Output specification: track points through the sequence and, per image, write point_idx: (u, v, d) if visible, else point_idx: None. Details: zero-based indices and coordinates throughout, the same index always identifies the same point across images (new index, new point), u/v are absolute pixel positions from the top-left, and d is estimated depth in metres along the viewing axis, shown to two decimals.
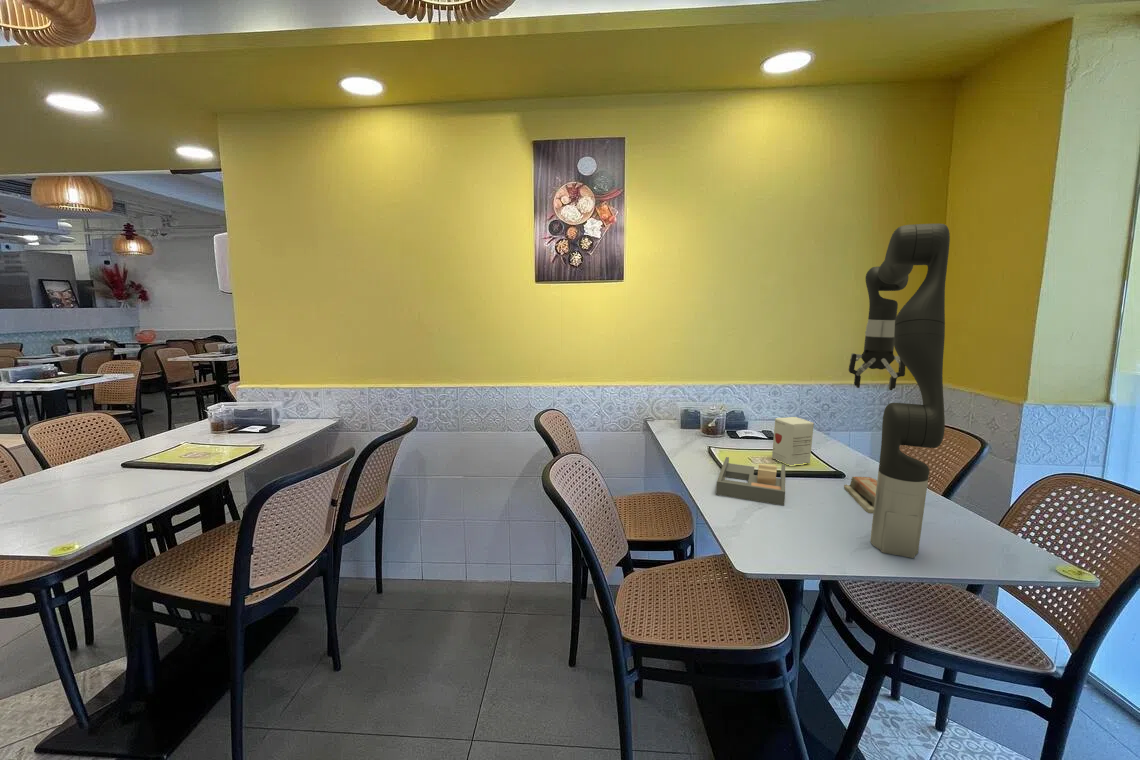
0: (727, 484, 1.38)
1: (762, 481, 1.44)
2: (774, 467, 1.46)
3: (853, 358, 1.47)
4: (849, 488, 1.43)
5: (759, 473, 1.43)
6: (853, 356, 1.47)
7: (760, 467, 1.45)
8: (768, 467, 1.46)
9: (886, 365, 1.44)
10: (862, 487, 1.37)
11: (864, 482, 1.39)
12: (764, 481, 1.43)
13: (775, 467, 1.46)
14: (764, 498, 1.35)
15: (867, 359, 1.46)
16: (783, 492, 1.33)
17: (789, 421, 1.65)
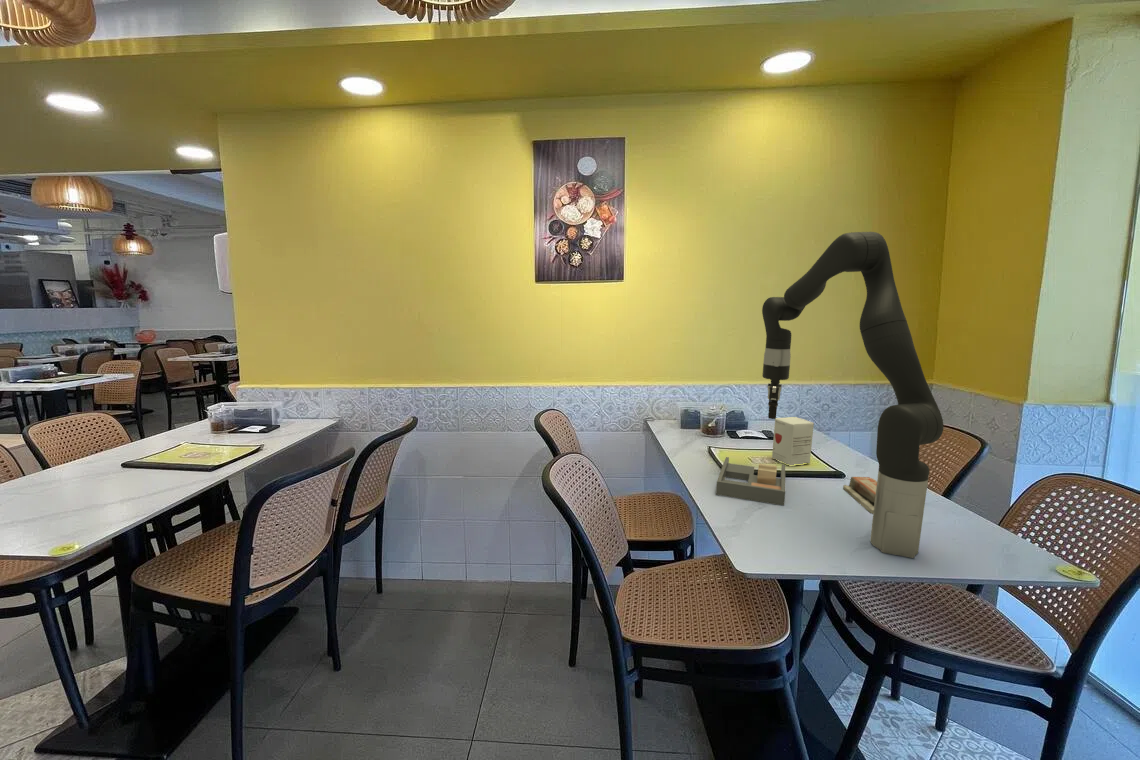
0: (727, 484, 1.38)
1: (762, 481, 1.44)
2: (774, 467, 1.46)
3: None
4: (849, 488, 1.43)
5: (759, 473, 1.43)
6: None
7: (760, 467, 1.45)
8: (768, 467, 1.46)
9: (768, 392, 1.49)
10: (863, 487, 1.37)
11: (864, 482, 1.39)
12: (764, 481, 1.43)
13: (775, 467, 1.46)
14: (764, 498, 1.35)
15: None
16: (783, 492, 1.33)
17: (789, 421, 1.65)
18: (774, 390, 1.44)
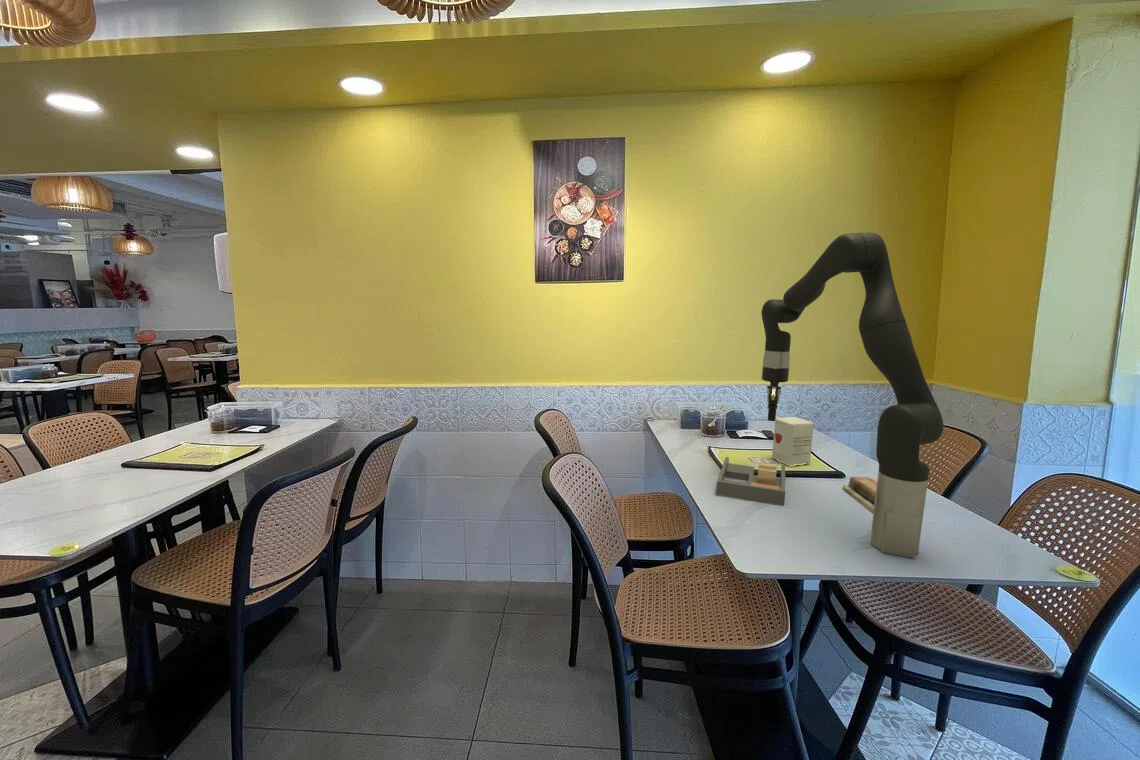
0: (727, 484, 1.38)
1: (762, 481, 1.44)
2: (774, 467, 1.46)
3: None
4: (848, 489, 1.43)
5: (759, 473, 1.43)
6: None
7: (760, 467, 1.45)
8: (768, 467, 1.46)
9: None
10: (863, 488, 1.37)
11: (864, 482, 1.39)
12: (764, 481, 1.43)
13: (775, 467, 1.46)
14: (764, 498, 1.35)
15: None
16: (783, 492, 1.33)
17: (789, 421, 1.65)
18: (773, 398, 1.45)
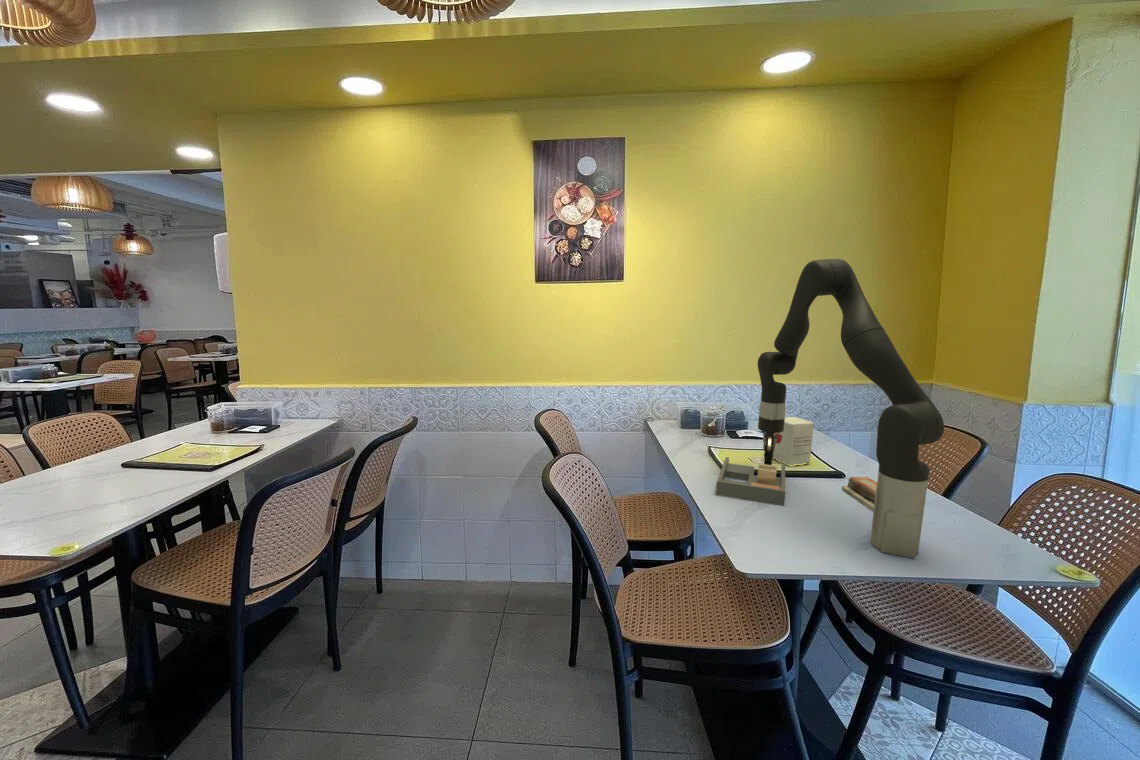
0: (727, 484, 1.38)
1: (762, 481, 1.44)
2: (774, 467, 1.46)
3: None
4: (848, 489, 1.42)
5: (759, 473, 1.43)
6: None
7: (760, 467, 1.45)
8: (768, 467, 1.46)
9: None
10: (864, 488, 1.37)
11: (864, 483, 1.39)
12: (764, 481, 1.43)
13: (775, 467, 1.46)
14: (764, 498, 1.35)
15: None
16: (783, 492, 1.33)
17: (789, 421, 1.65)
18: (769, 449, 1.48)
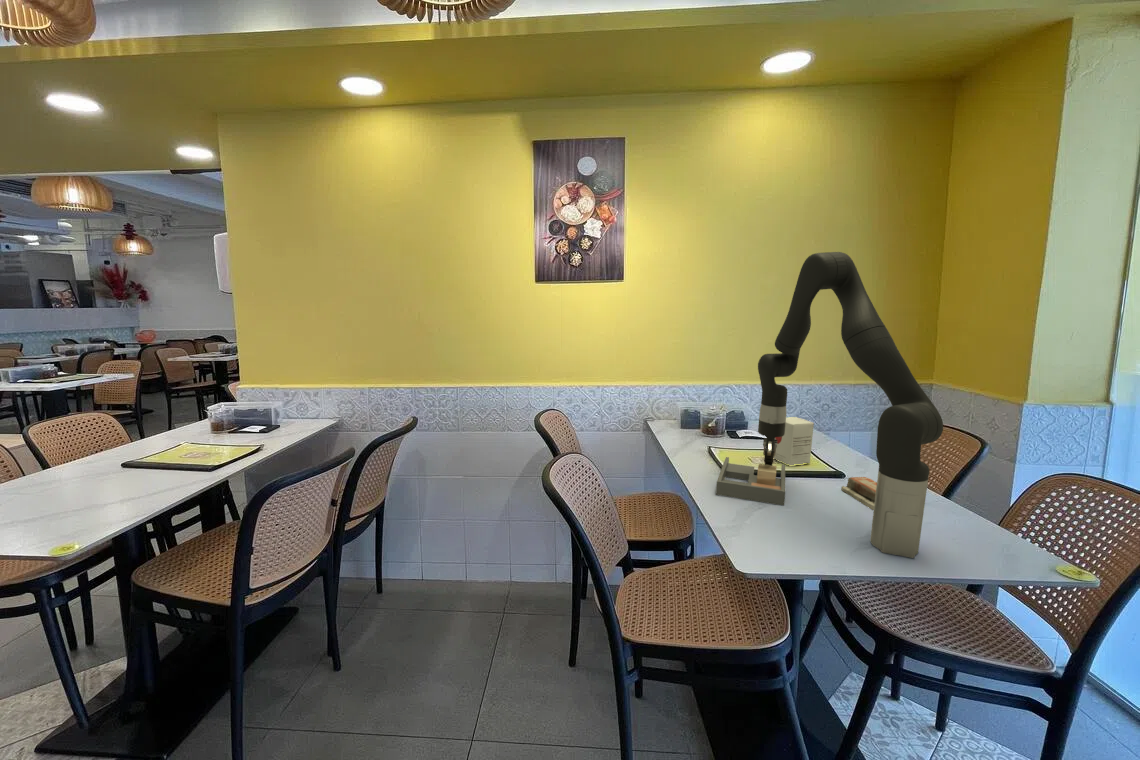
0: (727, 484, 1.38)
1: (762, 482, 1.43)
2: (774, 467, 1.45)
3: None
4: (848, 490, 1.42)
5: (759, 474, 1.43)
6: None
7: (760, 467, 1.45)
8: (768, 467, 1.45)
9: None
10: (865, 488, 1.36)
11: (864, 483, 1.39)
12: (764, 482, 1.43)
13: (775, 467, 1.45)
14: (764, 498, 1.35)
15: None
16: (783, 492, 1.33)
17: (789, 421, 1.65)
18: (769, 454, 1.44)
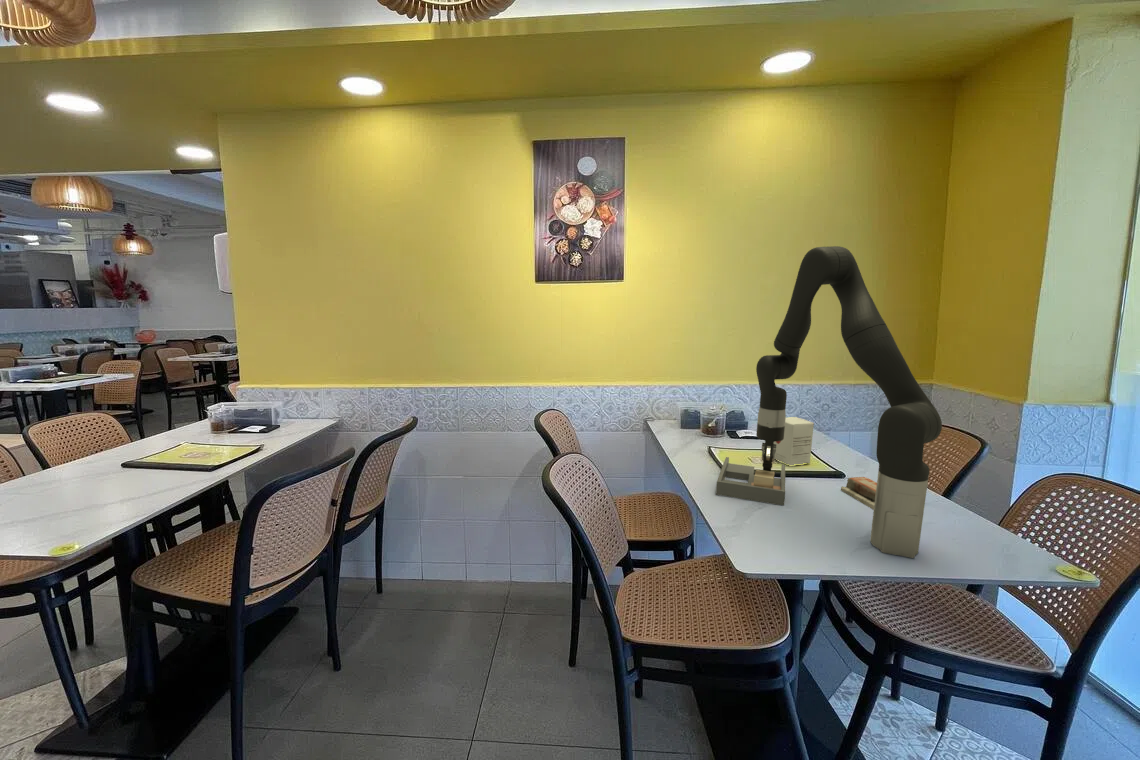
0: (727, 484, 1.38)
1: None
2: (772, 473, 1.40)
3: None
4: (848, 490, 1.42)
5: (756, 480, 1.39)
6: None
7: (757, 473, 1.40)
8: (766, 473, 1.40)
9: (762, 452, 1.44)
10: (866, 489, 1.36)
11: (865, 483, 1.39)
12: None
13: (773, 473, 1.40)
14: (764, 498, 1.35)
15: None
16: (783, 492, 1.33)
17: (789, 421, 1.65)
18: (768, 459, 1.39)
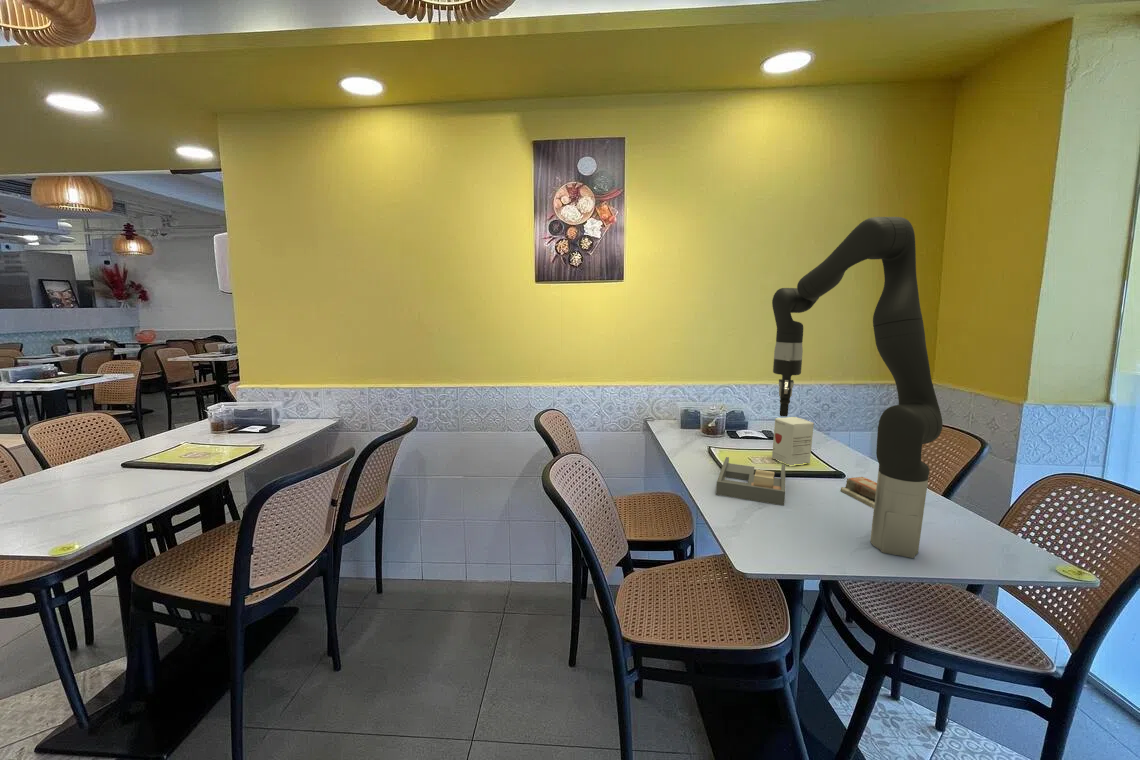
0: (727, 484, 1.38)
1: None
2: (771, 473, 1.40)
3: (780, 386, 1.48)
4: (848, 491, 1.41)
5: (756, 480, 1.38)
6: None
7: (757, 473, 1.40)
8: (765, 473, 1.40)
9: None
10: (867, 489, 1.36)
11: (865, 483, 1.38)
12: None
13: (772, 473, 1.40)
14: (764, 498, 1.35)
15: None
16: (783, 492, 1.33)
17: (789, 421, 1.65)
18: (786, 392, 1.38)
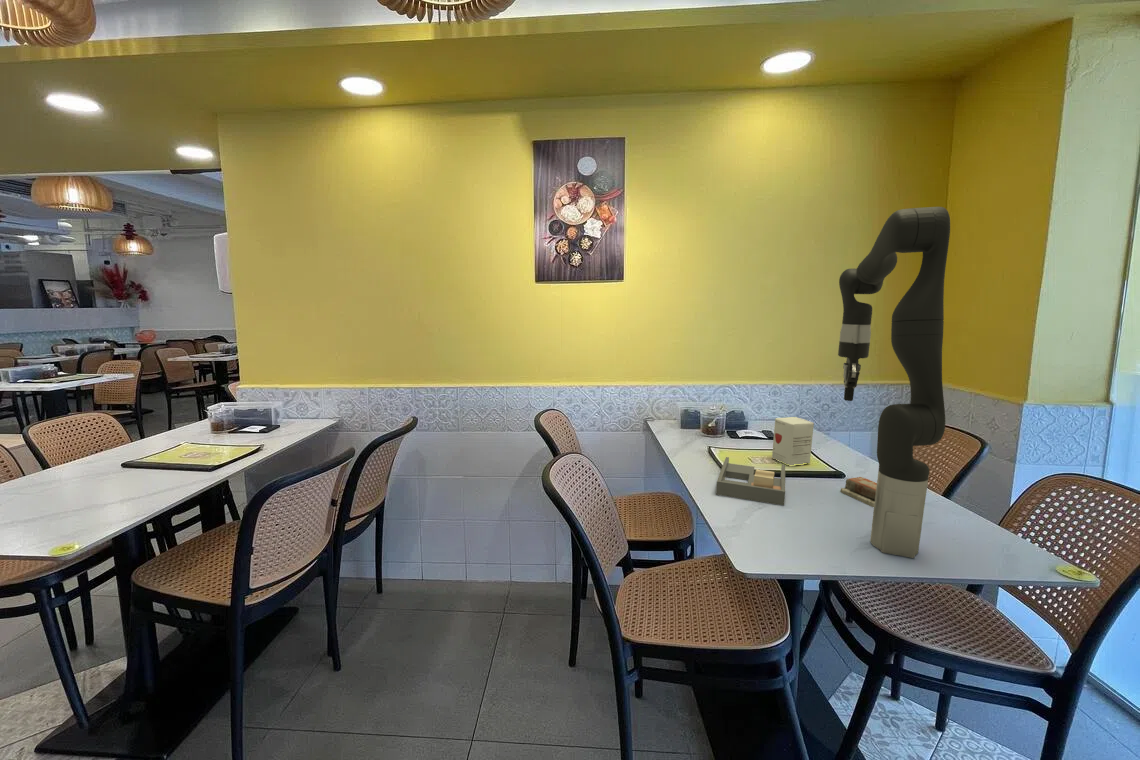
0: (727, 484, 1.38)
1: None
2: (771, 473, 1.40)
3: None
4: (849, 491, 1.41)
5: (756, 480, 1.38)
6: None
7: (757, 473, 1.40)
8: (765, 473, 1.40)
9: (845, 371, 1.39)
10: (869, 490, 1.36)
11: (866, 484, 1.38)
12: None
13: (772, 473, 1.40)
14: (764, 498, 1.35)
15: None
16: (783, 492, 1.33)
17: (789, 421, 1.65)
18: (854, 375, 1.34)
